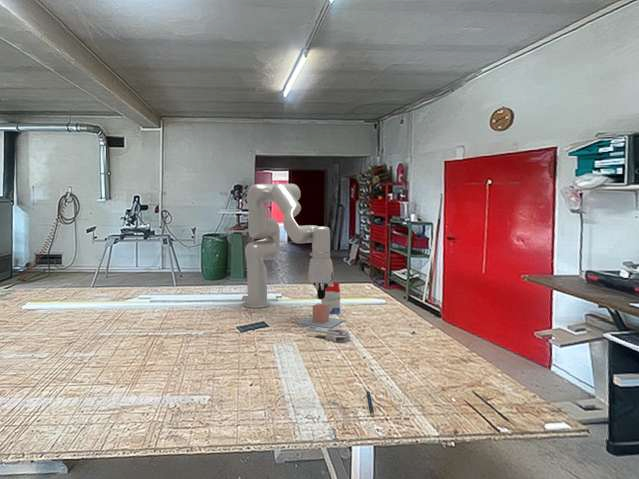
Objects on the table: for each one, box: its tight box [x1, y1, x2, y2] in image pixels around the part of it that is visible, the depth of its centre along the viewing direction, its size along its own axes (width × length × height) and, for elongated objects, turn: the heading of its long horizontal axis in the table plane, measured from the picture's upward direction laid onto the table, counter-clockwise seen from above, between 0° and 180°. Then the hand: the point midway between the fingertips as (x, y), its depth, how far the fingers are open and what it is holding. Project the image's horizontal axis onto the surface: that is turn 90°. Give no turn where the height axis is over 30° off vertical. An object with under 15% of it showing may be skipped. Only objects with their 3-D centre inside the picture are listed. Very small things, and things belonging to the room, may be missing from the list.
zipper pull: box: [305, 326, 351, 344], centre depth 188 cm, size 8×18×4 cm, turn 61°
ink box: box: [320, 281, 341, 315], centre depth 227 cm, size 8×5×15 cm, turn 84°
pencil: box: [366, 390, 375, 418], centre depth 129 cm, size 1×1×15 cm
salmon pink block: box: [312, 302, 330, 323], centre depth 210 cm, size 5×5×7 cm
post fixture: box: [296, 315, 345, 329], centre depth 210 cm, size 16×14×7 cm
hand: (321, 298), depth 209 cm, fingers closed
